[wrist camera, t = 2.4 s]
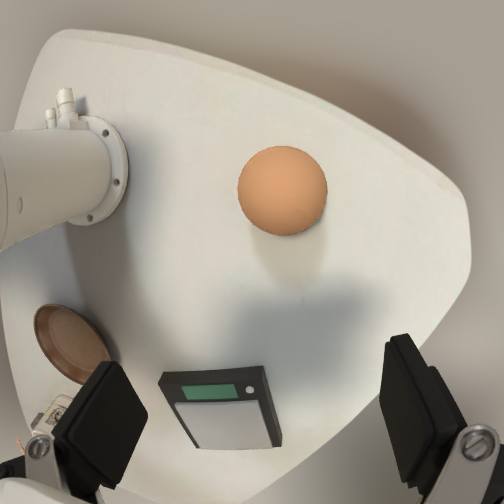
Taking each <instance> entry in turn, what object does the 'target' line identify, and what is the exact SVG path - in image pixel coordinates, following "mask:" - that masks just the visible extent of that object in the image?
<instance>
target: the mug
mask: <svg viewBox="0 0 504 504" xmlns="http://www.w3.org/2000/svg"><path fill="white" fill-rule="evenodd" d="M72 401H73V399H71V398H69V397H67V396H63V395H60V396H57V398H56V399H55V400H54V402H53V403H52V404H51V406H50V407H49V408H48V410H47V411H46V412H45V414H44V415H43V417H42V418H41V419H40V421H39V422H38V424H37V425H36V426H35V428H34V429H33V431H32V435H33V437H35V436H37V435H41V434H45V435H48V436H50V437H51V438H52V440H54V438H55V437H54V436H53V435H52V434H51V431H52V430H53V428H54V427H55V425H56V424H57V422H58V421H59V419H60V418H61V416H62V415H63V413H64V412H65V411H66V409H67V408H68V406H69V405H70V403H71V402H72Z"/></svg>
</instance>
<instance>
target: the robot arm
mask: <svg viewBox="0 0 504 504" xmlns="http://www.w3.org/2000/svg"><path fill="white" fill-rule="evenodd" d="M56 97H57V106H58V109H59V116H60V117H59V118H58V119H57V122H56V110H55V108H50V109H48V110H46V111H45V120H46V124H47V129H32V130H10V131H0V252H1V251H3V250H5V249H7V248H9V247H11V246H13V245H15V244H17V243H19V242H21V241H23V240H25V239H27V238H29V237H31V236H33V235H36V234H38V233H40V232H42V231H44V230H47V229H49V228H51V227H53V226H55V225H58V224H60V223H62V222H65V221H67V222H69V223H72V224H74V225H79V226H87V225H92V224H95V223H98V222H100V221H101V220H103V219H105V218H106V217H108V216H109V215H110V214H111V213H112V212H113V211H114V210H115V208H116V207H117V206H118V204H119V202H120V201H121V199H122V197H123V194H124V191H125V188H126V184H127V178H128V159H127V153H126V149H125V146H124V143H123V141H122V139H121V137H120V135H119V133H118V132H117V131H116V130H115V128H114V127H113V126H112V125H110V124H109V123H108V122H107V121H105V120H103V119H101V118H98V117H93V116H79V117H78V113H74V107H73V103H74V101H73V93H72V89H71V88H64V89H61V90H60V91H58V92H57V93H56ZM57 125H58V126H57ZM108 133H109V135H108ZM119 181H120V183H119ZM379 401H380V406H381V410H382V413H383V416H384V420H385V423H386V426H387V430H388V433H389V437H390V440H391V444H392V447H393V451H394V455H395V458H396V462H397V466H398V470H399V473H400V478H401V481H402V482H403V483H405V482H407V484H408V488H409V489H410V488H413V487H416V486H417V487H418V491H419V494H421V497H420V498H419V500H418V502H417V503H416V504H504V445H503V444H500V438H499V435H498V433H497V432H496V430H495V429H493V428H492V427H491V426H488V425H486V424H473V425H470V426H468V425H467V423H466V421H465V419H464V417H463V416H462V414H461V412H460V410H459V408H458V406H457V404H456V402H455V401H454V399H453V397H452V395H451V393H450V391H449V389H448V387H447V386H446V384H445V382H444V380H443V378H442V377H441V375H440V373H439V372H438V370H437V369H436V367H434V366H430V367H428V366H427V364H426V363H425V361H424V359H423V357H422V356H421V354H420V352H419V350H418V349H417V347H416V345H415V344H414V342H413V340H412V339H411V337H410V335H409V334H408V333H405V334H401V335H397V336H392V337H391V338H390V342H386V344H385V352H384V363H383V372H382V380H381V388H380V396H379ZM147 419H148V413H147V411H146V409H145V407H144V406H143V404H142V402H141V401H140V399H139V397H138V395H137V394H136V392H135V390H134V388H133V387H132V385H131V383H130V381H129V379H128V377H127V376H126V374H125V372H124V370H123V368H122V367H121V366H120V365H119V364H118V363H117V362H116V361H101V362H100V363H99V365H98V366H97V367H96V369H95V370H94V371H93V373H92V374H91V376H90V377H89V378H88V380H87V381H86V382H85V384H84V385H83V387H82V388H81V389H80V391H79V392H78V394H77V395H76V396H75V398H74V399H73V401H72V402H71V403H70V405H69V406H68V408H67V409H66V411H65V412H64V413H63V415H62V416H61V418H60V419H59V421H58V422H57V424H56V425H55V427H54V428H53V430H52V431H51V434H52V435H53V436H54V437H55V438H54V440H52V438H51V437H50V436H48V435H45V434H41V435H37V436H35V437H33V438H32V439H31V440H30V441H29V442H28V443H27V445H26V448H25V455H23V456H20V457H17V458H14V459H12V460H9V461H6V462H3V463H1V464H0V504H104V501H103V498H102V495H101V492H100V490H99V485H100V484H101V485H102V486H104V487H107V488H110V489H113V490H114V489H115V487H116V485H117V484H119V483H120V481H121V479H122V477H123V474H124V472H125V470H126V467H127V465H128V463H129V461H130V458H131V456H132V454H133V451H134V449H135V447H136V444H137V442H138V440H139V438H140V435H141V433H142V431H143V429H144V426H145V424H146V422H147Z"/></svg>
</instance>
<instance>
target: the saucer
mask: <svg viewBox="0 0 504 504" xmlns="http://www.w3.org/2000/svg"><path fill="white" fill-rule="evenodd" d="M34 331H35V335H36V338H37V341H38V343H39V345H40V347H41V349H42V351H43V353H44V354H45V356H46V357H47V359H48V360H49V361H50V362H51V363H52V365H53V366H54V367H55V368H56V369H57V370H58V371H59V372H61V373H62V374H63V375H64V376H66V377H67V378H69V379H70V380H72V381H74V382H76V383H78V384H80V385H84V384H85V382H86V381H87V380H88V378H89V377H90V376H91V374H92V373H93V371H94V370H95V369H96V367H97V366H98V365H99V363H100V362H101V361H111V359H110V355H109V352H108V349H107V347H106V345H105V343H104V341H103V339H102V337H101V336H100V334H99V333H98V331H97V330H96V329H95V327H94V326H93V325H92V324H91V323H90V322H89V321H88V320H87V319H86V318H84V317H83V316H82V315H80V314H79V313H77V312H76V311H74V310H72V309H70V308H67V307H65V306H61V305H56V304H46V305H43V306H41V307H40V308H39V309H38V310H37V312H36V314H35V316H34Z"/></svg>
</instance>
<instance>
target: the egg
mask: <svg viewBox="0 0 504 504" xmlns="http://www.w3.org/2000/svg"><path fill="white" fill-rule="evenodd" d="M326 199H327V182H326V179H325V175H324V172H323V171H322V169H321V167H320V166H319V165H318V163H317V162H316V161H315V160H314V159H313V158H312V157H311V156H310V155H308V154H307V153H305V152H304V151H302V150H300V149H297V148H293V147H289V146H275V147H270V148H267V149H265V150H263V151H261V152H259V153H257V154H256V155H254V156H253V157H252V158H251V159H250V160H249V161H248V162H247V164H246V165H245V166H244V168H243V170H242V173H241V175H240V177H239V182H238V200H239V202H240V205H241V208H242V211H243V212H244V214H245V215H246V217H247V218H248V219H249V220H250V221H251V222H252V223H253V224H254V225H255V226H257V227H258V228H260V229H261V230H263V231H265V232H268V233H271V234H275V235H291V234H296V233H298V232H301V231H303V230H305V229H307V228H308V227H309V226H310V225H312V224H313V223H314V222H315V221H316V220H317V219H318V217H319V216H320V215H321V213H322V212H323V209H324V206H325V204H326Z"/></svg>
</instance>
